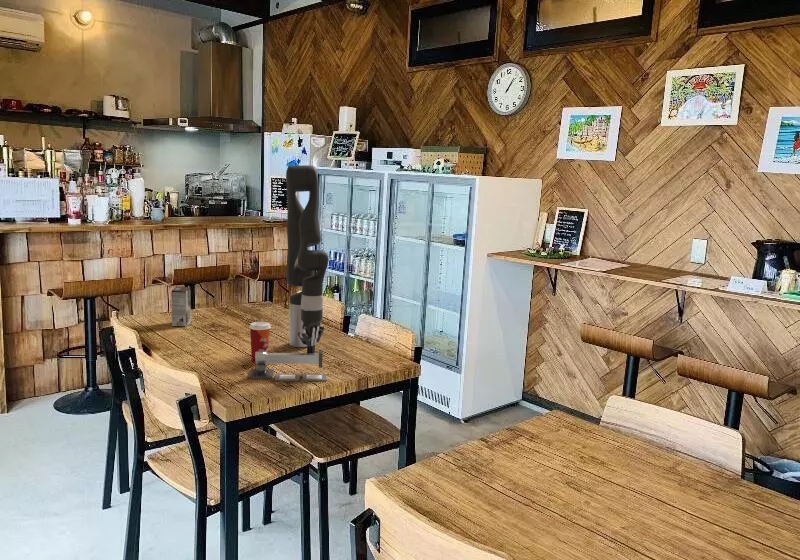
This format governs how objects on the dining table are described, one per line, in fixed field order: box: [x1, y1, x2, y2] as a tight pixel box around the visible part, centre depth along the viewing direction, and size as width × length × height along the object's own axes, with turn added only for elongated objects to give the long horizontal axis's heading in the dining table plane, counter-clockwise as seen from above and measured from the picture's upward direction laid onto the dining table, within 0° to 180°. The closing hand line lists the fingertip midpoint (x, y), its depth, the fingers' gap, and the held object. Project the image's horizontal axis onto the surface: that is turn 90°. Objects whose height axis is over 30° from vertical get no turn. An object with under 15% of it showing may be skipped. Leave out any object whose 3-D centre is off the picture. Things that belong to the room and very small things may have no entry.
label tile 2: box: [301, 373, 327, 382], centre depth 207 cm, size 6×8×1 cm
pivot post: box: [247, 363, 275, 380], centre depth 207 cm, size 8×8×4 cm
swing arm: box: [255, 349, 324, 369], centre depth 208 cm, size 23×5×5 cm, turn 97°
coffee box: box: [170, 286, 192, 328], centre depth 267 cm, size 9×6×16 cm
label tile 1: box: [274, 373, 301, 382], centre depth 206 cm, size 6×8×1 cm
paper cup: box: [248, 321, 272, 364], centre depth 222 cm, size 8×8×14 cm
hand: (310, 355), depth 214 cm, fingers closed
